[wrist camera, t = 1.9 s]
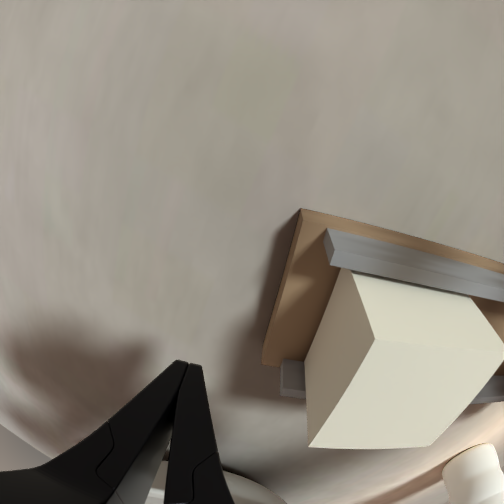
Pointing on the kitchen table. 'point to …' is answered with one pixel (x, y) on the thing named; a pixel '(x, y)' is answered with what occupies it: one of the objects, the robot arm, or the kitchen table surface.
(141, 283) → the kitchen table surface
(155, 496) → the soup bowl
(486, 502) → the water bottle
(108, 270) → the kitchen table surface
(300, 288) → the track
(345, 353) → the block
